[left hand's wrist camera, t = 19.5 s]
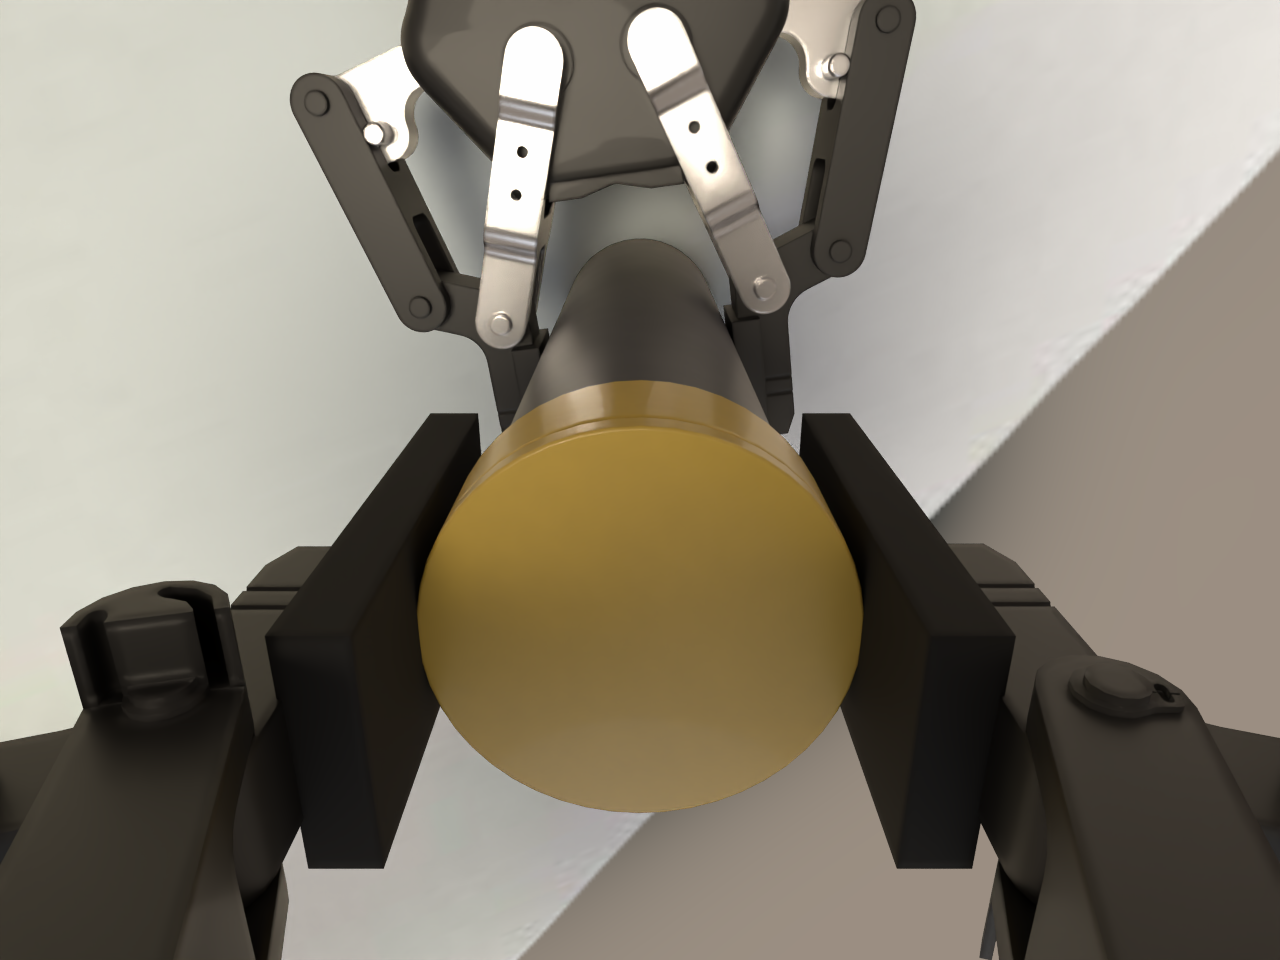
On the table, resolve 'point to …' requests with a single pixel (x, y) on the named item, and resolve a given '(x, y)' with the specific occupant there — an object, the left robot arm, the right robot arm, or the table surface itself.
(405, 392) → the table surface
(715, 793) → the lid
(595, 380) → the grey cylindrical bottle
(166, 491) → the table surface
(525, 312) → the right robot arm
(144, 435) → the table surface
